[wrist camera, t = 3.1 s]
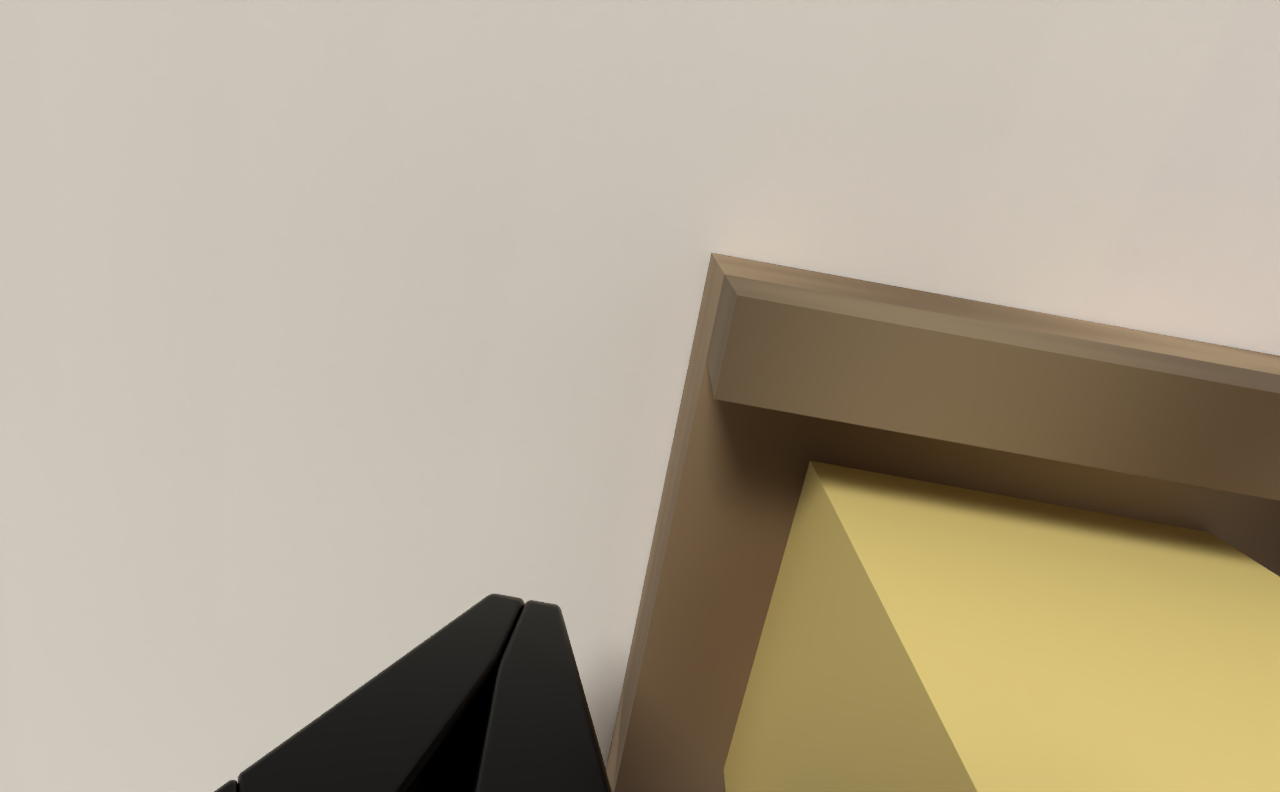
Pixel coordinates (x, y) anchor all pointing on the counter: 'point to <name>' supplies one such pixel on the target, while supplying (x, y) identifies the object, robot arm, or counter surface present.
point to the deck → (907, 460)
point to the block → (1006, 650)
